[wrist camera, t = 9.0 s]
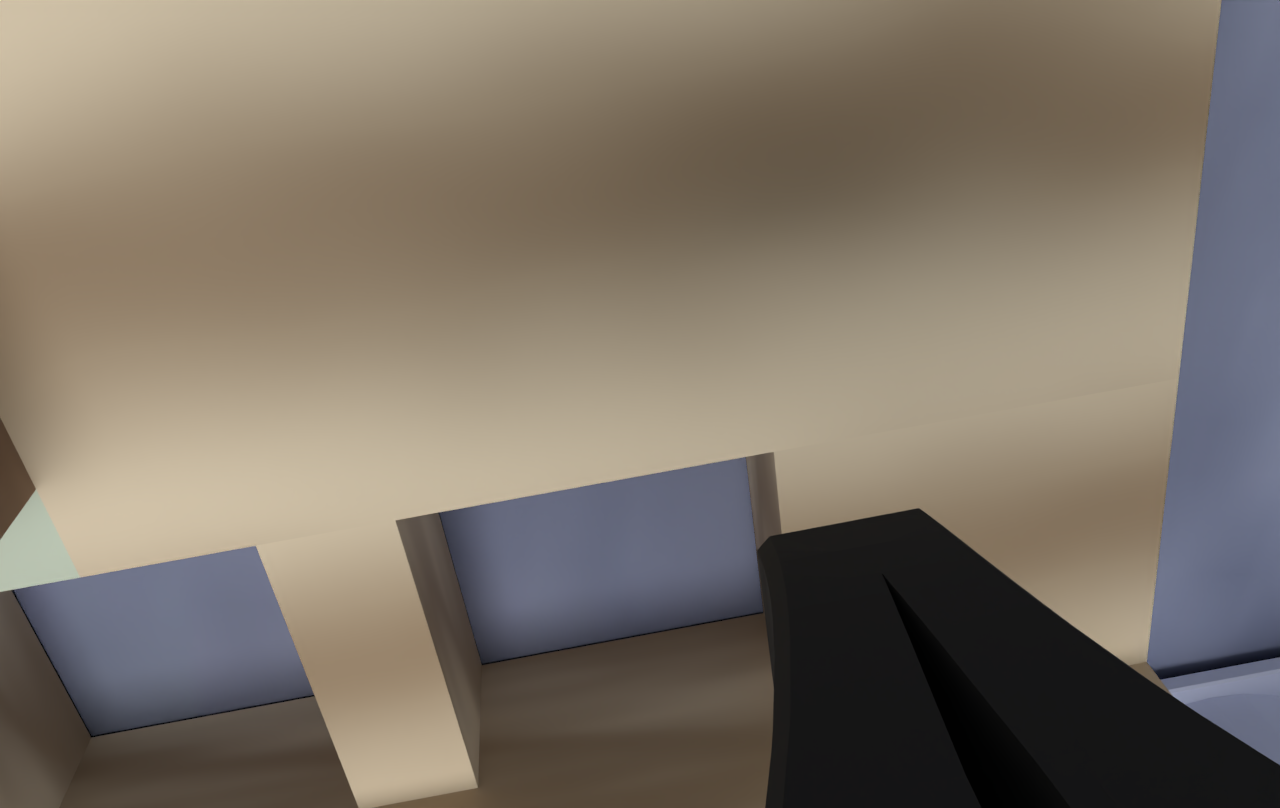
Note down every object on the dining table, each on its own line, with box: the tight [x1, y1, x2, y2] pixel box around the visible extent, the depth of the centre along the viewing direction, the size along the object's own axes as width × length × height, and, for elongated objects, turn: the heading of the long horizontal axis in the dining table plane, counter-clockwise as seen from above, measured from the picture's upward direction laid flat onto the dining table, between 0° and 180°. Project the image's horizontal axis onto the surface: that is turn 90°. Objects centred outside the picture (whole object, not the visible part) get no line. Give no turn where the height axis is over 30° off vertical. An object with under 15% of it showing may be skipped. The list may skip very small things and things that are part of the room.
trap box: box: [0, 0, 1221, 808], centre depth 15 cm, size 14×22×6 cm, turn 98°
